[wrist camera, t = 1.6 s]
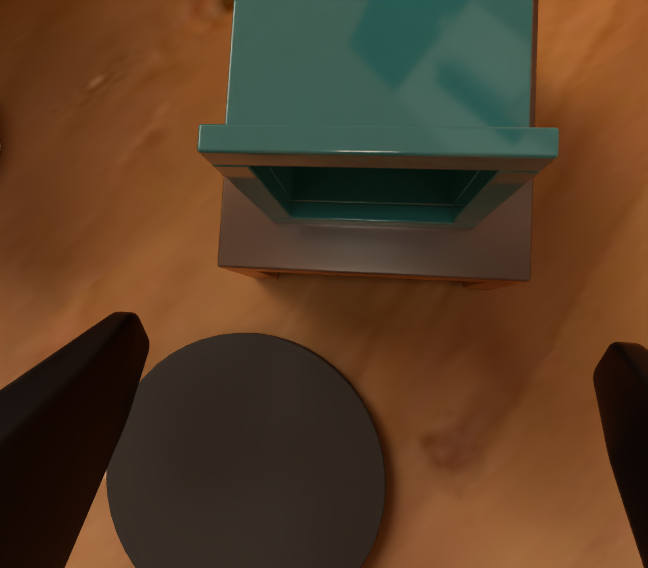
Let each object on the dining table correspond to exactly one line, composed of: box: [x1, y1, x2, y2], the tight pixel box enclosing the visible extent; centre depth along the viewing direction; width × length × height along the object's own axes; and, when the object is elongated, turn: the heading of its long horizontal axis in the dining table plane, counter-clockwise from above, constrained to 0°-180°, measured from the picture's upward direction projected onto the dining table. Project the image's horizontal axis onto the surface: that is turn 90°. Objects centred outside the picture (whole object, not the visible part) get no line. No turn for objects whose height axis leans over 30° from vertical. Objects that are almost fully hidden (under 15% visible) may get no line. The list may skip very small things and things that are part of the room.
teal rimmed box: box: [197, 0, 559, 230], centre depth 12 cm, size 8×7×7 cm
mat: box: [106, 333, 386, 568], centre depth 20 cm, size 13×13×1 cm
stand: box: [218, 0, 538, 290], centre depth 18 cm, size 11×11×5 cm
